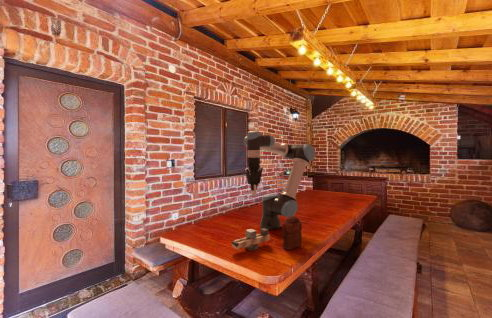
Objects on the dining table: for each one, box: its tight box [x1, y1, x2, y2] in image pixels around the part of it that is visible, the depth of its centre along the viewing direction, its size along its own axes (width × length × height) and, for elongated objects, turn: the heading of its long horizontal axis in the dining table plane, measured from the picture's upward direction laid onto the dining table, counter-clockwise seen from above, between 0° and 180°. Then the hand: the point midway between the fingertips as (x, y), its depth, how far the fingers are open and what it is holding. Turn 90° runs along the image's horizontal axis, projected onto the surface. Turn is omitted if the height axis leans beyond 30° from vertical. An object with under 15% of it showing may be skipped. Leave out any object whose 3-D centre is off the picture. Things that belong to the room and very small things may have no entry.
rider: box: [245, 228, 257, 239], centre depth 145 cm, size 4×5×5 cm
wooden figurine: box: [281, 215, 303, 250], centre depth 146 cm, size 12×6×18 cm, turn 123°
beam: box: [231, 228, 271, 252], centre depth 145 cm, size 23×6×9 cm, turn 124°
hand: (254, 195), depth 155 cm, fingers closed
